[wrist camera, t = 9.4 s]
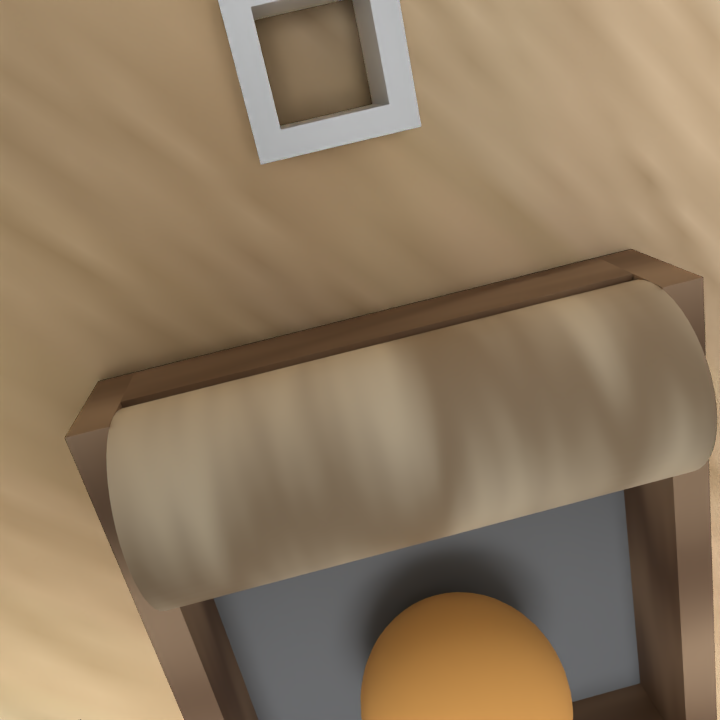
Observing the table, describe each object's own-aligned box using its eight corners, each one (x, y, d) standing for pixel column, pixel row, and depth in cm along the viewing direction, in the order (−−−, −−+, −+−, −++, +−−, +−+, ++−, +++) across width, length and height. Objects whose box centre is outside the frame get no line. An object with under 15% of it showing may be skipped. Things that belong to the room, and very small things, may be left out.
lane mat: (98, 381, 19) (94, 387, 18) (631, 248, 19) (639, 252, 19) (262, 803, 25) (262, 814, 25) (662, 691, 26) (669, 700, 25)
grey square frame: (220, -2, 16) (213, -21, 14) (371, -36, 16) (389, -59, 14) (261, 156, 17) (260, 164, 15) (400, 123, 17) (421, 126, 15)
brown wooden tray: (98, 381, 19) (27, 499, 13) (631, 248, 19) (780, 307, 14) (262, 803, 25) (262, 1004, 19) (662, 691, 26) (773, 855, 20)
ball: (402, 914, 17) (376, 745, 23) (629, 848, 18) (546, 697, 24) (346, 706, 16) (333, 584, 22) (588, 640, 17) (512, 537, 22)
